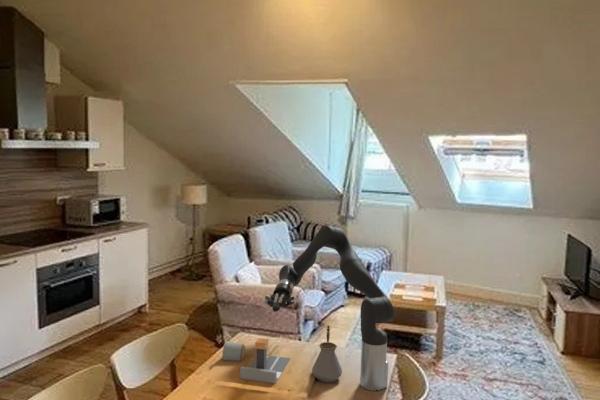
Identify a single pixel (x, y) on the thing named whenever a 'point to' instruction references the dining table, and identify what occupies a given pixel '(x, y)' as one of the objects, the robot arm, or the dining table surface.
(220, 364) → the dining table surface
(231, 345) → the ceramic mug
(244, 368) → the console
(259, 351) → the fader
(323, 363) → the coffee pot
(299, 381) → the dining table surface
